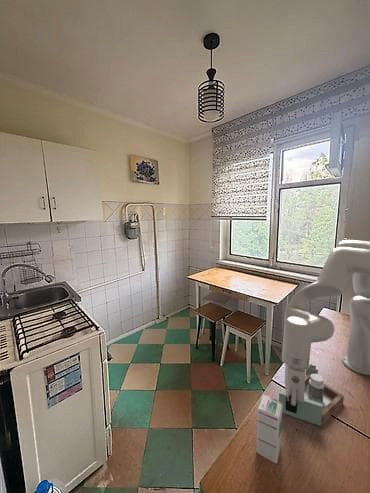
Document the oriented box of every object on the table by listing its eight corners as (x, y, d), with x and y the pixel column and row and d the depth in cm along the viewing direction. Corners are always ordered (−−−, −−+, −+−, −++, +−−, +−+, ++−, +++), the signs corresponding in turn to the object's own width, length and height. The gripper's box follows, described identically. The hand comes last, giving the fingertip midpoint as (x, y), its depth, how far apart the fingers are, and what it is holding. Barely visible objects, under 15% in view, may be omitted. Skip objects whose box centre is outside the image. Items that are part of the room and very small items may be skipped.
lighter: (317, 377, 89) (319, 359, 88) (316, 379, 88) (318, 361, 86) (298, 368, 94) (300, 351, 93) (297, 370, 92) (299, 353, 91)
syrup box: (277, 465, 58) (280, 418, 56) (255, 452, 61) (257, 407, 59) (280, 445, 63) (283, 402, 61) (259, 435, 66) (262, 393, 64)
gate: (320, 422, 69) (322, 403, 68) (320, 426, 68) (322, 406, 67) (278, 408, 74) (279, 390, 73) (278, 411, 73) (279, 393, 72)
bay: (307, 380, 87) (308, 374, 87) (342, 403, 77) (343, 395, 76) (286, 396, 80) (286, 389, 79) (321, 423, 69) (322, 415, 69)
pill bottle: (325, 404, 76) (327, 383, 74) (310, 402, 77) (311, 381, 75) (320, 394, 80) (321, 373, 79) (306, 391, 81) (307, 371, 80)
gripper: (312, 377, 58) (306, 436, 61) (306, 347, 72) (301, 396, 75) (282, 369, 61) (277, 425, 64) (281, 341, 75) (278, 389, 77)
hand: (290, 409), depth 69 cm, fingers closed
